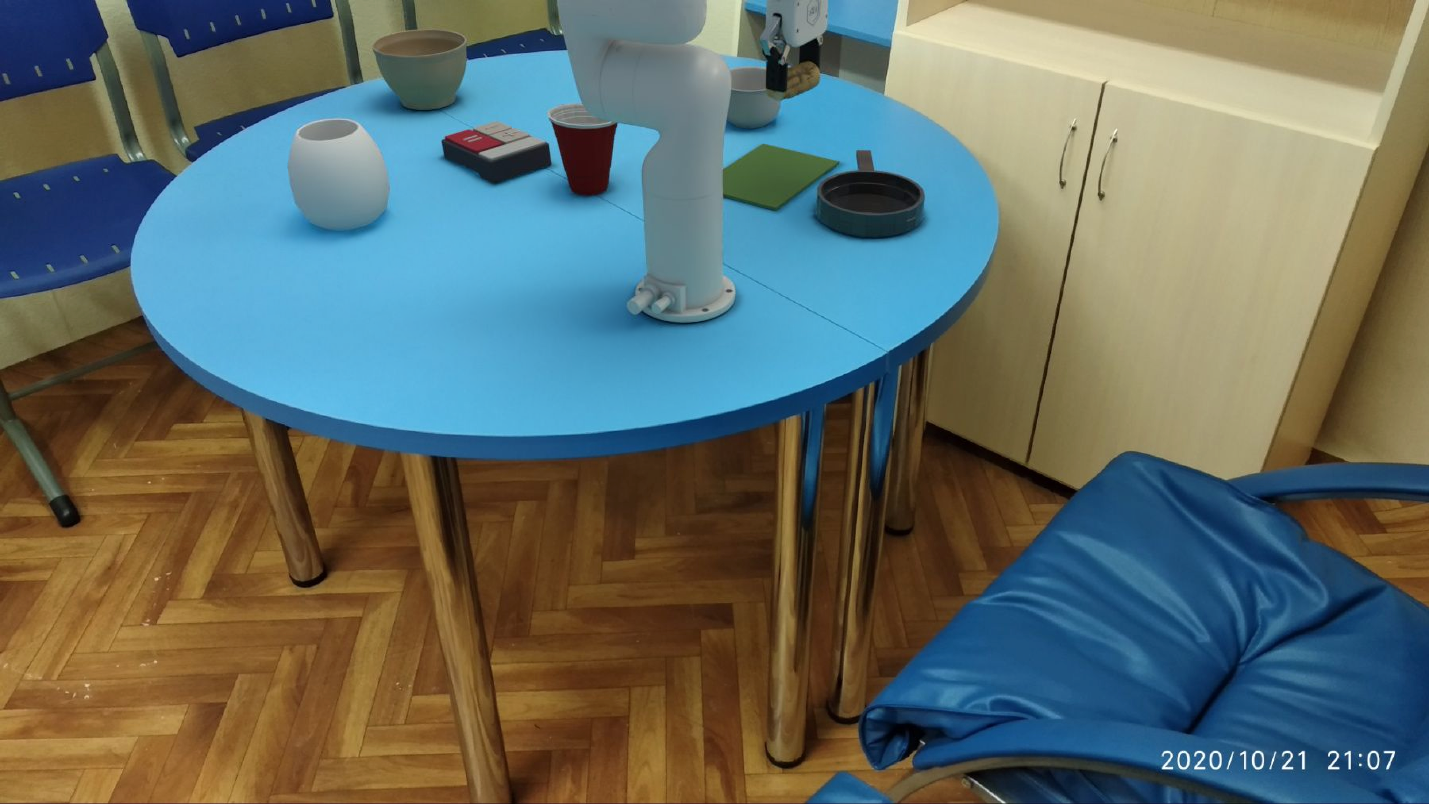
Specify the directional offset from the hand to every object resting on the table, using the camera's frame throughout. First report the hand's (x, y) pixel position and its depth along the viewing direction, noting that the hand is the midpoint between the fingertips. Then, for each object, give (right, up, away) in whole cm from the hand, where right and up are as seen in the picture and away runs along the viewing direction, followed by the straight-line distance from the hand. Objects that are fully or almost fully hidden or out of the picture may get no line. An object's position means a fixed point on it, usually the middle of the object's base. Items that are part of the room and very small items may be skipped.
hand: (793, 80), depth 151 cm
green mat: (-3, -11, +12) cm, 17 cm away
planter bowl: (-63, +8, +40) cm, 75 cm away
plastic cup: (-30, -14, +9) cm, 34 cm away
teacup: (-7, +2, +31) cm, 32 cm away
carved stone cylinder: (0, -2, +1) cm, 2 cm away
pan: (+11, -19, +1) cm, 22 cm away
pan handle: (+12, -11, +8) cm, 18 cm away
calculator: (-46, -8, +17) cm, 50 cm away
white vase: (-64, -20, +1) cm, 67 cm away
